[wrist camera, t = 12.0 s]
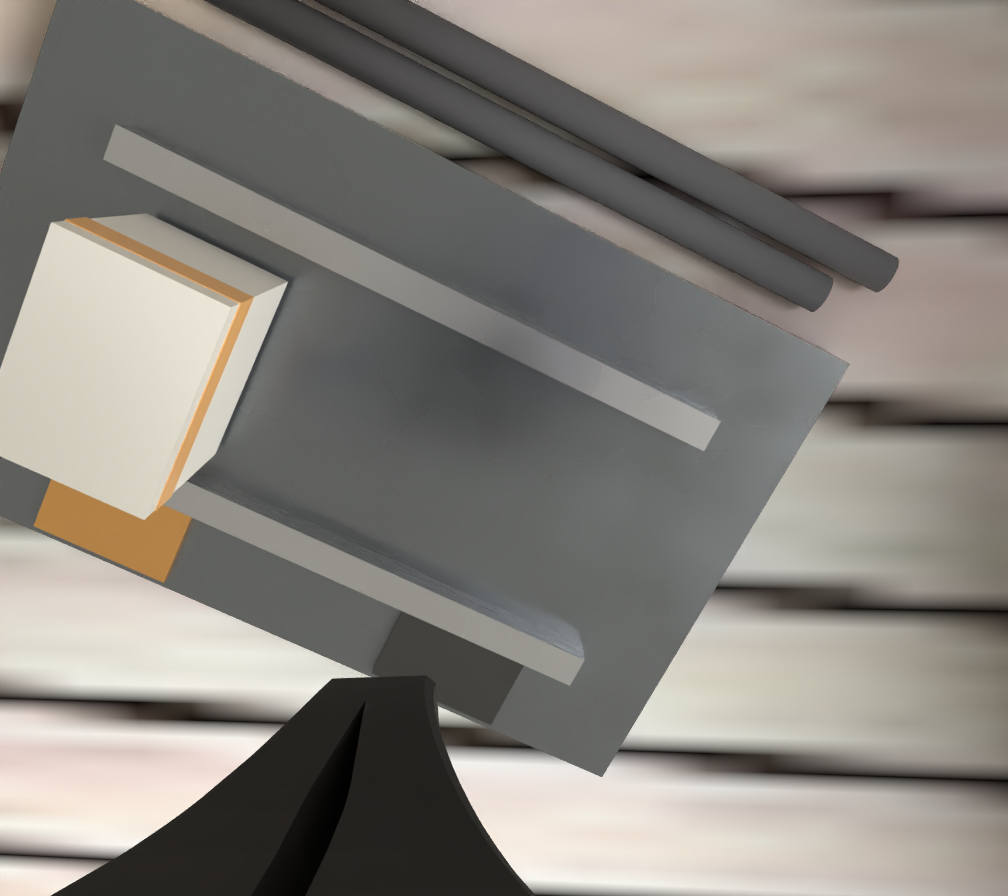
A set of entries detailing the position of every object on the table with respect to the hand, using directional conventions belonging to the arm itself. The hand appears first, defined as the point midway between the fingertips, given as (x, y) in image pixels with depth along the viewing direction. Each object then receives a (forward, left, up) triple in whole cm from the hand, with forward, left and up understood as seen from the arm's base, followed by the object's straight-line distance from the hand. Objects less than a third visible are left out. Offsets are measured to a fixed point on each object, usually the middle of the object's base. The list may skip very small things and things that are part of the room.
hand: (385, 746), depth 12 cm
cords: (+1, -8, -10) cm, 13 cm away
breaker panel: (+2, -1, -10) cm, 10 cm away
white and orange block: (+6, -1, -8) cm, 11 cm away
